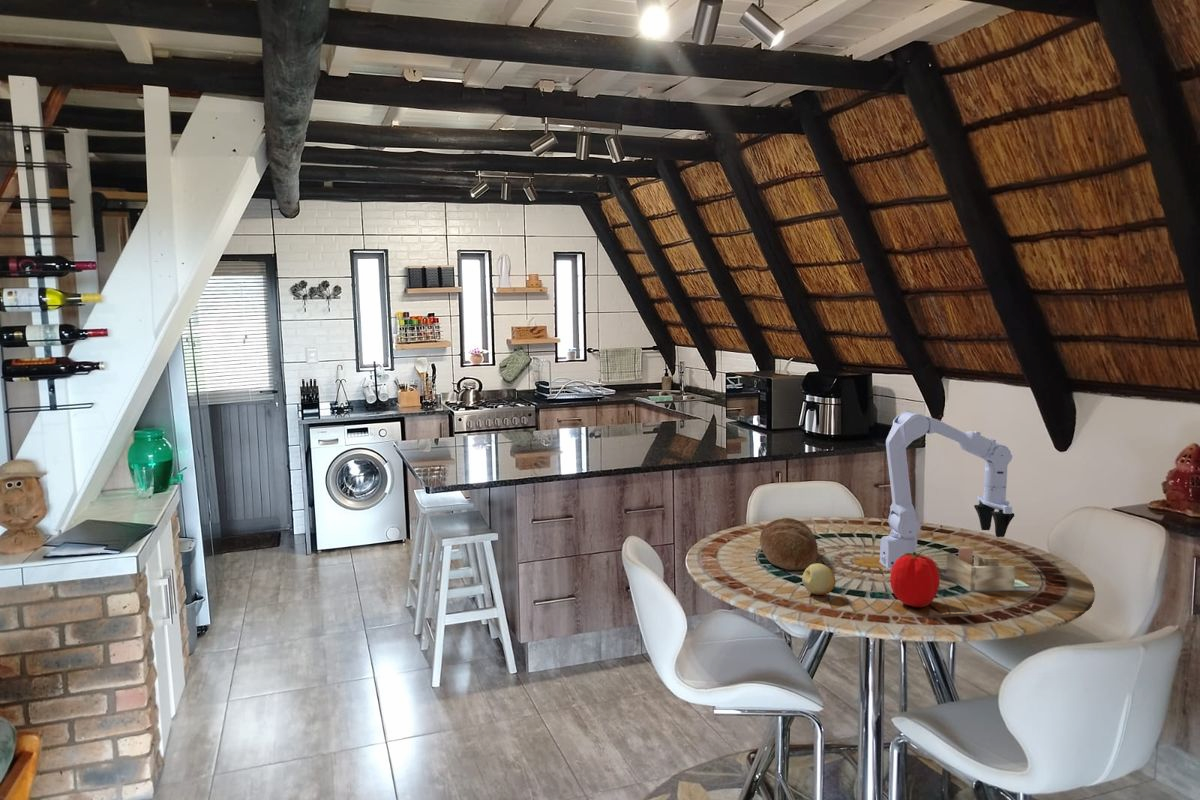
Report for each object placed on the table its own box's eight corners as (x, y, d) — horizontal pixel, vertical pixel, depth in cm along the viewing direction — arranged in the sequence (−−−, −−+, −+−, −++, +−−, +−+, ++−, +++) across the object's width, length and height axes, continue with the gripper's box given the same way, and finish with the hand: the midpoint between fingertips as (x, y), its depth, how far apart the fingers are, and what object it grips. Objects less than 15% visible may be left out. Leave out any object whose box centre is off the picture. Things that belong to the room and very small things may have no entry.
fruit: (803, 588, 215) (804, 558, 214) (836, 592, 212) (837, 561, 211) (799, 597, 208) (800, 566, 207) (833, 601, 205) (834, 569, 204)
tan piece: (970, 590, 212) (971, 567, 211) (946, 575, 224) (947, 553, 224) (1014, 589, 212) (1015, 567, 212) (987, 574, 225) (988, 553, 225)
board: (968, 593, 211) (969, 591, 211) (939, 574, 227) (939, 572, 227) (1036, 592, 212) (1036, 590, 212) (1002, 573, 228) (1002, 571, 228)
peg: (961, 579, 221) (962, 549, 221) (955, 575, 225) (956, 546, 224) (974, 578, 222) (975, 549, 221) (967, 574, 225) (968, 546, 224)
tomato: (901, 614, 196) (903, 559, 194) (881, 597, 208) (882, 545, 207) (949, 613, 196) (951, 559, 195) (926, 596, 208) (928, 545, 207)
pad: (1010, 587, 214) (1010, 586, 214) (1000, 581, 219) (1000, 580, 219) (1029, 587, 214) (1029, 585, 214) (1018, 581, 219) (1018, 579, 219)
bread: (805, 545, 258) (806, 510, 257) (824, 573, 228) (825, 533, 227) (755, 544, 259) (756, 509, 258) (767, 572, 230) (768, 532, 229)
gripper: (1023, 490, 225) (1021, 539, 226) (994, 481, 239) (992, 527, 240) (998, 491, 224) (996, 540, 225) (971, 481, 239) (969, 527, 240)
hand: (992, 533), depth 233 cm, fingers open, 7 cm apart
